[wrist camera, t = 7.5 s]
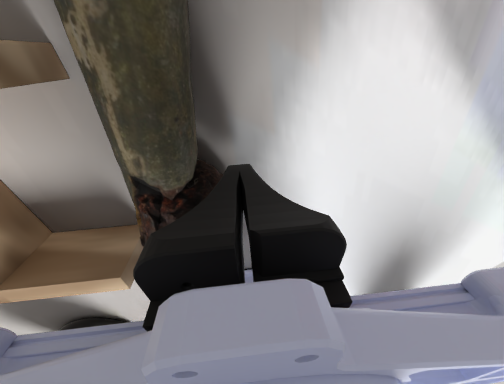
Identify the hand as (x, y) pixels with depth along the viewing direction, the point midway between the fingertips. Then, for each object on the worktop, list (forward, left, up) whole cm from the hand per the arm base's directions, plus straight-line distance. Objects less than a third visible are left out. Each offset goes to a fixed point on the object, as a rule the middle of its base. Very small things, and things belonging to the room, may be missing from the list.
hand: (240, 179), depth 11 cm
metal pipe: (0, +4, -3) cm, 5 cm away
